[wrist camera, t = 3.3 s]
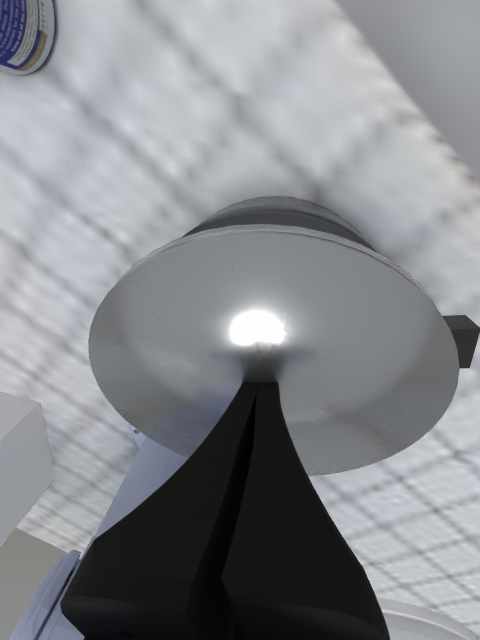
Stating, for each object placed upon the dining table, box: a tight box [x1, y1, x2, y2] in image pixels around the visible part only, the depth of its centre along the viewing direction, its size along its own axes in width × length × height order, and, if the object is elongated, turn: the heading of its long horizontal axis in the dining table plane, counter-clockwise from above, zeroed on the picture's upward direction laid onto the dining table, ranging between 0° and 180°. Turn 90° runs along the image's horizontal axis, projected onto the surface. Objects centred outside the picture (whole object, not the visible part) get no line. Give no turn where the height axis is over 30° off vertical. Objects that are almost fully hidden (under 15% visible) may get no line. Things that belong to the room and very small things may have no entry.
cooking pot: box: [181, 196, 480, 368], centre depth 16 cm, size 14×18×6 cm
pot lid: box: [88, 224, 459, 476], centre depth 12 cm, size 14×14×2 cm
